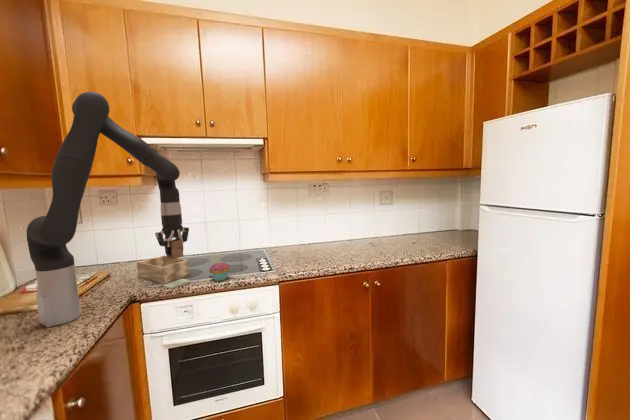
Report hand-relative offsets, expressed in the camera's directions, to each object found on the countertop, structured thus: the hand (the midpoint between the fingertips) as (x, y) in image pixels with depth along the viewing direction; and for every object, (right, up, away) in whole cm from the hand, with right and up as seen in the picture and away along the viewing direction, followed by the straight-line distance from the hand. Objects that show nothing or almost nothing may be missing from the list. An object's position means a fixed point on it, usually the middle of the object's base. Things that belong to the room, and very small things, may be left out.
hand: (174, 253), depth 121 cm
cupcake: (+17, -12, +6) cm, 22 cm away
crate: (-11, -12, +12) cm, 20 cm away
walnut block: (0, -1, 0) cm, 1 cm away
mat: (0, -13, +1) cm, 13 cm away
